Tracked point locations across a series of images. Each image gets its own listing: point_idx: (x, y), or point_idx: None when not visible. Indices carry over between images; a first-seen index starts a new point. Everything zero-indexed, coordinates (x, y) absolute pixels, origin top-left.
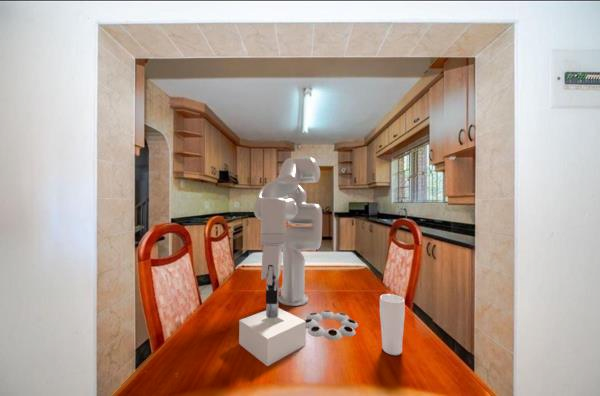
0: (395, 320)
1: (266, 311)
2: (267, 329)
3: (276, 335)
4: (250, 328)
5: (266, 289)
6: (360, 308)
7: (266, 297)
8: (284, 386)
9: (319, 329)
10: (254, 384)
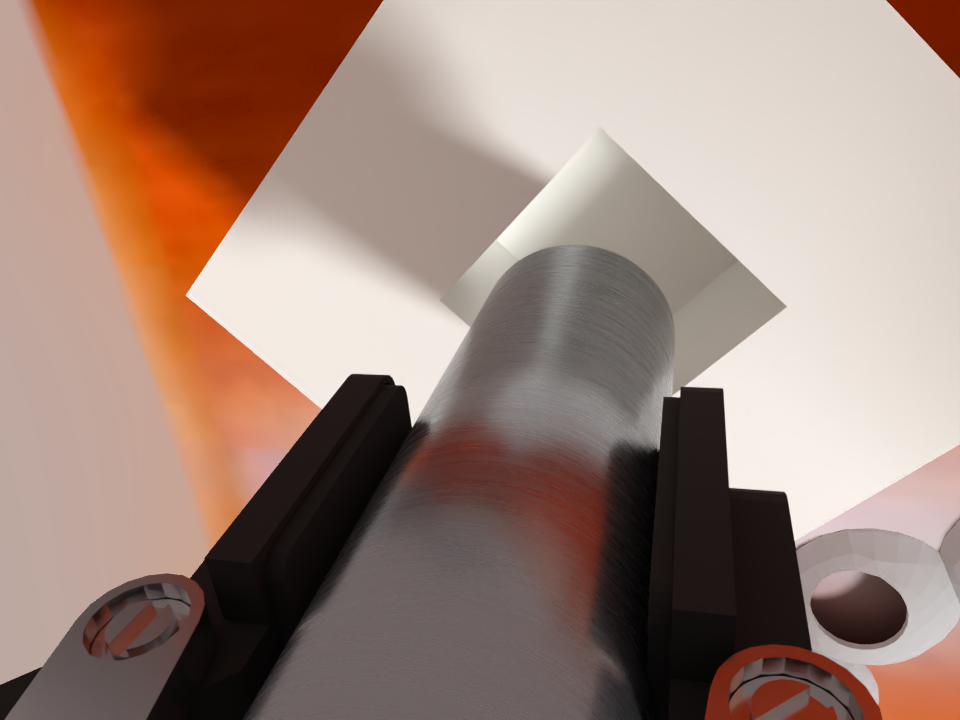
0: None
1: (515, 284)
2: (363, 267)
3: (283, 371)
4: (373, 18)
5: (100, 600)
6: None
7: (307, 445)
8: (168, 341)
9: (829, 640)
10: (122, 148)
